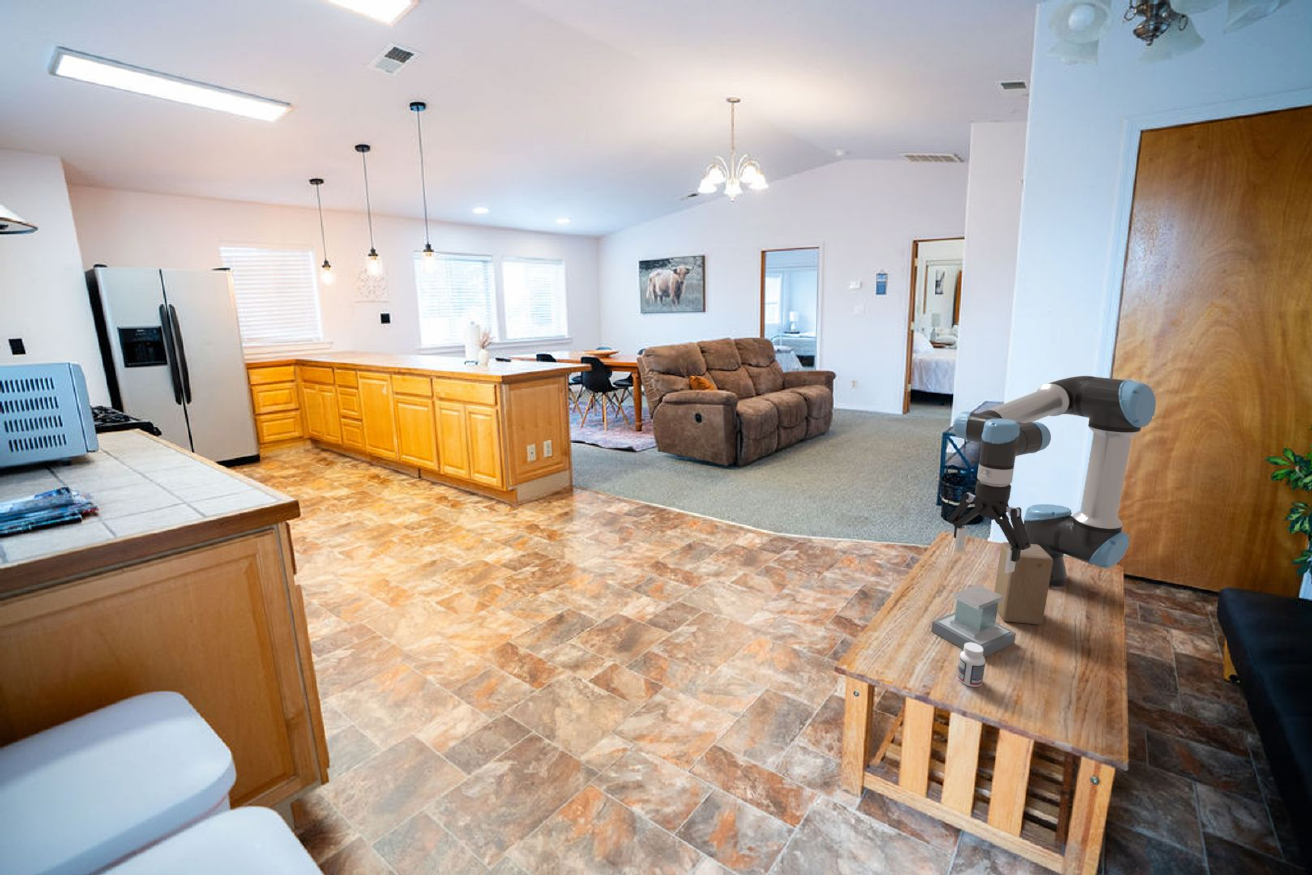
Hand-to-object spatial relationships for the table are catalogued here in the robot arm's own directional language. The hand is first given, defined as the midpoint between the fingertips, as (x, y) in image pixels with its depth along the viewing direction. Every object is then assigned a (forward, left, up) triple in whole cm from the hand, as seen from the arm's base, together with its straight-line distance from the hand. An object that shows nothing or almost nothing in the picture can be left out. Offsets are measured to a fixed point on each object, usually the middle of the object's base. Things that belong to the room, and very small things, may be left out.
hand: (983, 561), depth 151 cm
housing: (0, 0, -19) cm, 19 cm away
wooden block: (-21, -1, -22) cm, 30 cm away
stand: (0, 0, -22) cm, 22 cm away
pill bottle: (+17, +11, -22) cm, 30 cm away
